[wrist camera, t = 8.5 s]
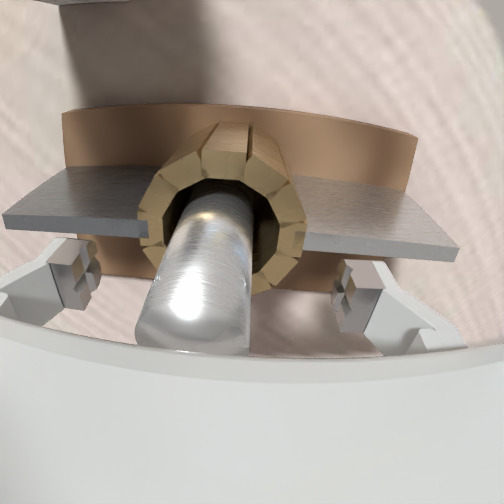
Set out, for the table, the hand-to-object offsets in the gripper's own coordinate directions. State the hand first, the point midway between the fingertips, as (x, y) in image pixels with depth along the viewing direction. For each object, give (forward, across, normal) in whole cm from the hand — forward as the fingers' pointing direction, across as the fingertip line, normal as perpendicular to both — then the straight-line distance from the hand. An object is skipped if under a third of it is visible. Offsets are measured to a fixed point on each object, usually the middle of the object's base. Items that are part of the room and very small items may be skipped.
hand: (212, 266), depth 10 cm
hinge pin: (+9, 0, 0) cm, 9 cm away
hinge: (+9, 0, 0) cm, 9 cm away
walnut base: (+11, 0, +2) cm, 11 cm away
